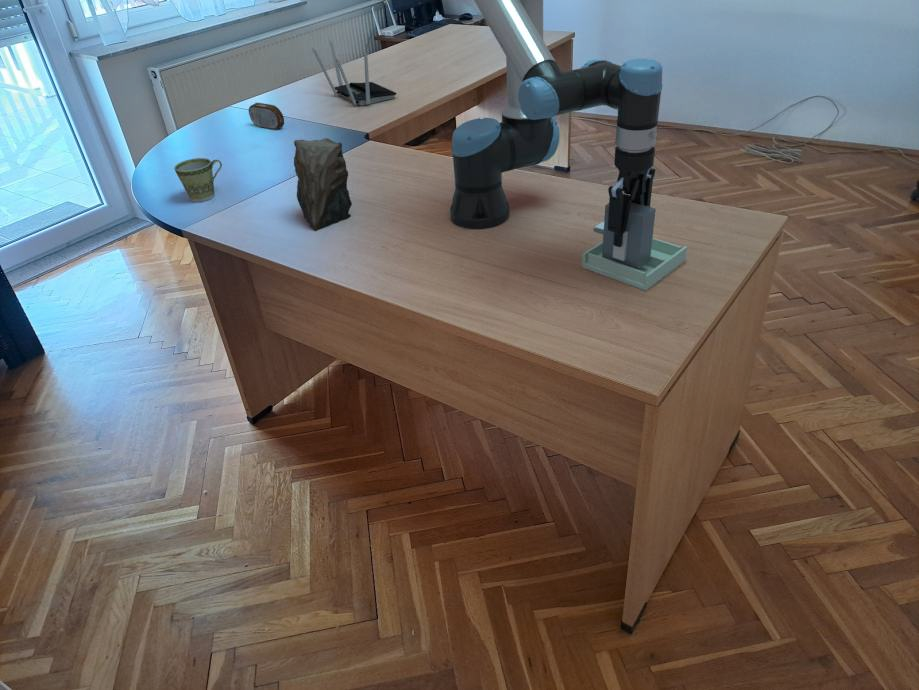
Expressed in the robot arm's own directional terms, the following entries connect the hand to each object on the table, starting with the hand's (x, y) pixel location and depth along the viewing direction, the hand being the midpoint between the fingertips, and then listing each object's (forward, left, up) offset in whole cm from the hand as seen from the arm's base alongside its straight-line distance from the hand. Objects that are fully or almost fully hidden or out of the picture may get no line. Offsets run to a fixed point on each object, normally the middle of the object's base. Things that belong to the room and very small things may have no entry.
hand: (626, 253), depth 146 cm
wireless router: (-155, +52, -4) cm, 164 cm away
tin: (-156, +11, -4) cm, 156 cm away
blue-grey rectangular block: (0, 0, -1) cm, 1 cm away
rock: (-76, -24, -4) cm, 80 cm away
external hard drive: (-13, +18, -5) cm, 23 cm away
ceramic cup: (-117, -35, -4) cm, 122 cm away
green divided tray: (0, +4, -4) cm, 6 cm away
